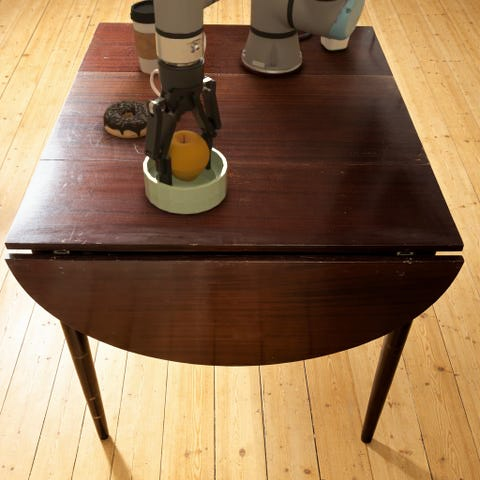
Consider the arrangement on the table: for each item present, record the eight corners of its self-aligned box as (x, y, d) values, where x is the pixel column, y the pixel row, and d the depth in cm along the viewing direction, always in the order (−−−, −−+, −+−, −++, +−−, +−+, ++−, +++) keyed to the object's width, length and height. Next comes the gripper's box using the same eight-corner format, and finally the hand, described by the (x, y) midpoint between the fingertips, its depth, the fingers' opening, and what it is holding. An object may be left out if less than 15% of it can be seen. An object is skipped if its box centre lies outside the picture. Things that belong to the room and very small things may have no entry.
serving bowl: (189, 159, 124) (188, 133, 120) (243, 192, 117) (244, 165, 113) (129, 190, 117) (125, 163, 112) (182, 227, 109) (181, 200, 105)
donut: (101, 140, 128) (99, 123, 125) (107, 112, 136) (105, 95, 133) (154, 141, 129) (153, 123, 126) (157, 112, 137) (156, 95, 134)
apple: (159, 165, 117) (156, 122, 110) (205, 161, 118) (205, 119, 112) (164, 193, 111) (161, 149, 104) (213, 188, 112) (213, 145, 106)
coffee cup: (175, 71, 151) (172, 7, 140) (145, 79, 147) (139, 14, 136) (159, 58, 155) (154, -5, 144) (129, 65, 152) (122, 2, 141)
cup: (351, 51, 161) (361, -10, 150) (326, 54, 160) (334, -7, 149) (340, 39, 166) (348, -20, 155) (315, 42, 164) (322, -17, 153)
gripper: (142, 86, 91) (153, 209, 107) (244, 45, 101) (240, 162, 118) (111, 69, 94) (127, 190, 111) (213, 31, 105) (213, 147, 121)
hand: (185, 176), depth 114 cm, fingers closed on apple, 9 cm apart
